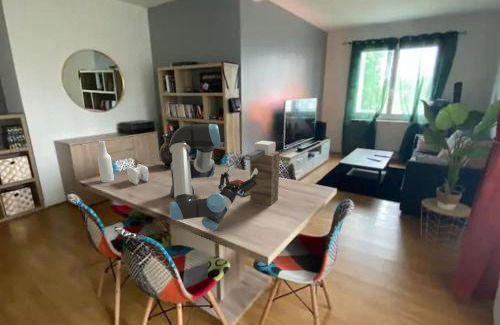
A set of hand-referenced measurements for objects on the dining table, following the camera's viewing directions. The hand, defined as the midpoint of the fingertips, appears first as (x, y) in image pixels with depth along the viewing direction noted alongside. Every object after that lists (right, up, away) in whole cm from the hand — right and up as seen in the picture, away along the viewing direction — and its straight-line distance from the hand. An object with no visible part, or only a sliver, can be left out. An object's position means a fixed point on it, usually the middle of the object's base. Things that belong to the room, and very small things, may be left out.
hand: (245, 168), depth 136 cm
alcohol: (-104, -11, +60) cm, 121 cm away
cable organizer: (-80, -11, +59) cm, 100 cm away
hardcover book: (-3, -16, +43) cm, 46 cm away
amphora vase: (-66, -1, +98) cm, 118 cm away
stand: (+11, -20, +26) cm, 35 cm away
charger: (+7, +7, +11) cm, 15 cm away
